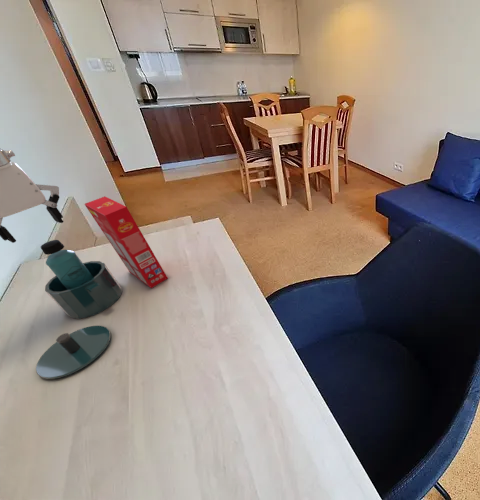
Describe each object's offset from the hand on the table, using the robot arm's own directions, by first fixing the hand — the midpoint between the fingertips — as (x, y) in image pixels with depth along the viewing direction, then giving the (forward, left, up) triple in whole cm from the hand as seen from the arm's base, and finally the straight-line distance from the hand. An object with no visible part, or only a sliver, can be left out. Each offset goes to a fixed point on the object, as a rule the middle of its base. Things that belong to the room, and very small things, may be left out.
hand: (37, 231), depth 74 cm
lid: (-12, -16, -24) cm, 31 cm away
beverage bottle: (0, 0, -24) cm, 24 cm away
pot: (0, 0, -24) cm, 24 cm away
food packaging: (+14, -4, -25) cm, 29 cm away
